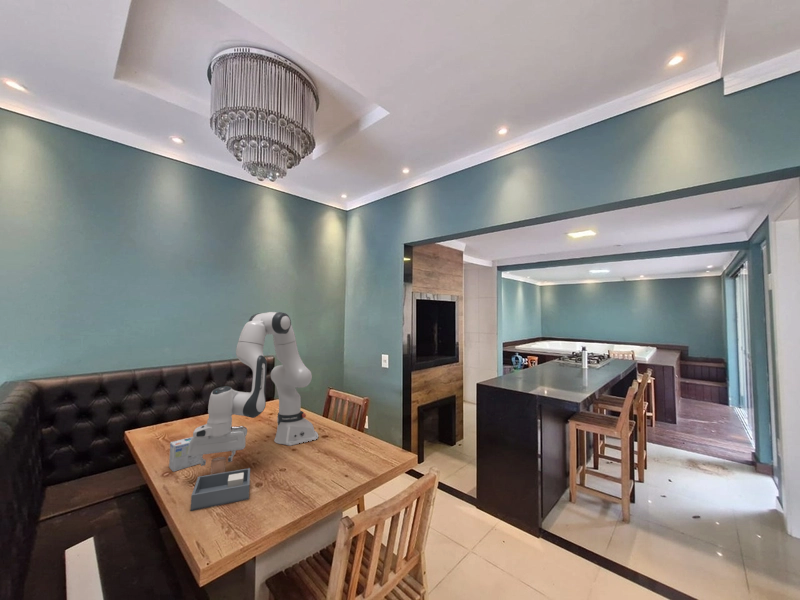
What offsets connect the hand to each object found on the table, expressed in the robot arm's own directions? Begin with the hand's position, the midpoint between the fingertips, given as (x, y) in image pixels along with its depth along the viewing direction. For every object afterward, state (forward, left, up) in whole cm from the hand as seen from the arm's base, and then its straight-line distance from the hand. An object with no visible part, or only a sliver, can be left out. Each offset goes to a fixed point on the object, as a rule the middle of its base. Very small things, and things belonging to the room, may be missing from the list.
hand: (216, 463), depth 127 cm
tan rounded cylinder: (-1, 0, -6) cm, 6 cm away
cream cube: (-8, +15, -5) cm, 17 cm away
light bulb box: (+13, -17, -6) cm, 23 cm away
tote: (-4, +15, -6) cm, 16 cm away
